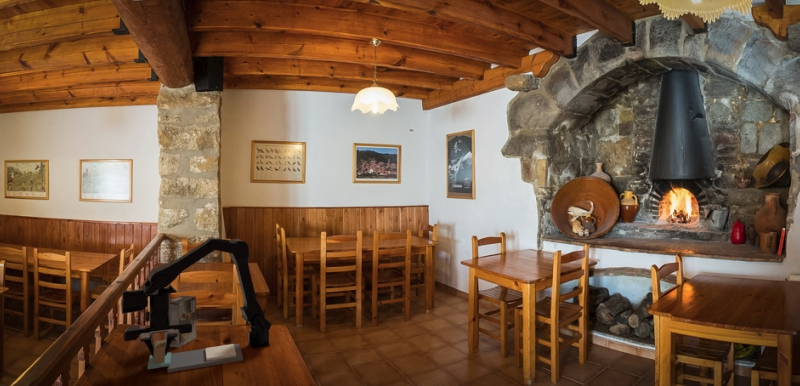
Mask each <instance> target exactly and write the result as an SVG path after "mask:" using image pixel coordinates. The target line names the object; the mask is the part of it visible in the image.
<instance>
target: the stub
mask: <svg viewBox="0 0 800 386" xmlns="http://www.w3.org/2000/svg"><path fill="white" fill-rule="evenodd" d="M165 348H166V340H164V339H160V340H155V341H154V357H152V354H150V356H149V360H148V363H147V364H148V365H147V370H151V369H159V368H164V367H168V366H170V360H171V354H172V352H167V355H166V356H165Z"/></svg>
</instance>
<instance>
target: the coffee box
mask: <svg viewBox="0 0 800 386" xmlns="http://www.w3.org/2000/svg"><path fill="white" fill-rule="evenodd" d="M170 315H171V323H170V325H175V324H179V321H180V320H189V319H191V320H192V332H191V333H185V334H181V333H180V332H179V330H178V336H177V337H174V339H173V341H172V342H171V344H170V347H171V348H181V347H182V346H184V345H186V344H188V343H189V342H191V341H194V340H195V339H196V338H197V296H193V295H180V296H177V297H174V298H170ZM163 333H164V339H163V340H166V342H167V335H168V332H163ZM170 347H169V348H170Z"/></svg>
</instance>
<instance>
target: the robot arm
mask: <svg viewBox="0 0 800 386" xmlns="http://www.w3.org/2000/svg"><path fill="white" fill-rule="evenodd" d="M249 248H250V247H249V244H248V243H247V242H246V241H244V240H243V239H239V238H232V239H223V238H215V237H209V238H207V239H206V240H205V241H203V242H202V243H201V244H198V245H197V246H195V247H194V248H192V249H190V250H189V251H187V252H186V253H185V254H182V255H181V256H180V257H178V258H177V259H175V260H172V261H170V262H167V263H164V264H161V265H160V266H157V267H154V268H153V269H151V270H150V272H149V274H148V279H147V280H146V281H145V282H144V284H142V286H141V289H133V290H129V289H128V290H122V291H121V300H120V310H121V315H123V314H131V313H136V312H143V311H144V310H145V309H146V308H147V307H148V305H149V311H146V312H145V322H148V323H149V325H148V326H149V327H143V328H142V325H140V324H139V325H132V326H131V325H130V326H127V328H126V329H125V330H124V333H123V335H124V336H123V341H125V342H130V341H136V340H138V338H139V337H140V338H139V340H140V342H141V343H143V342H144V344H145V345H146V347H147V348H148V350H149V352H150V355H152V357H154V344H155V342H154V335H153V334H158V333H164V332H168V335H167V342H166V348H165V356H166V355H167V353H169V350H170V344H171V342H172V341H173V339H174V337H177V336H178V330H179V332H180V333H181V334H185V333H191V332H192V320H191V319H189V320H180V321H179V324H175V325H170V323H171V315H170V300H171V294H176V293H177V292H178V291H177V289H176V288H175V287H173V285H172V283H173V282H174V281H175V280H176V279H177V278H178V277H179V276H180V275H181V273H183V272H184V271H185V270H187V269H188V268H190V267H191V266H193V265H195V264H196V263H197V262H199V261H201V260H202V259H204V258H205V257H206V256H208V255H210V254H211V253H213V252H215V251H217V252H221V253H227V254H228V255H229V256H230V259H231V260H232V262H233V264H234V265H235V269H236V273H237V274H236V275H237V277H238V278H237V279H238V281H239V282H238V283H239V286H240V290H241V294H242V297H243V306H240V307H239V310H240V311H241V318H242V319H243V320H244V321H245V322H246V323H248V324H249V326H250V328H249V331H248V333H247V334H248V337H247V338H248V341H247V342H248V345H249V347H250V348H251V349H254V348H261V347H267V346H268V347H269V346H270V345H271V343H270V330H271V327H272V323H271V322H270V321H269V320H268V319H266V315H265V312H264V311H263V309H262V307H261V305H260V303H259V301H258V300H257V295H256V292H255V291H256V290H255V288H254V282H253V279H252V274H251V271H250V266H249V259H250V249H249ZM148 298H149V302H148Z"/></svg>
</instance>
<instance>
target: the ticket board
mask: <svg viewBox="0 0 800 386" xmlns="http://www.w3.org/2000/svg"><path fill="white" fill-rule="evenodd" d="M243 360H244V356H243V352H242V349H241V346H240V343H235V344H234V343H231V344H230V343H229V344H225V345H224V344H223V345H218V346H211V347H205V348H201V349H194V350H188V351H181V352H173V353H171V360H170V366H167V374H168V373H174V372H175V373H176V372H182V371H188V370H193V369H199V368H206V367H212V366H217V365H223V364H224V365H225V364H229V363H235V362H242V361H243Z"/></svg>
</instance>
